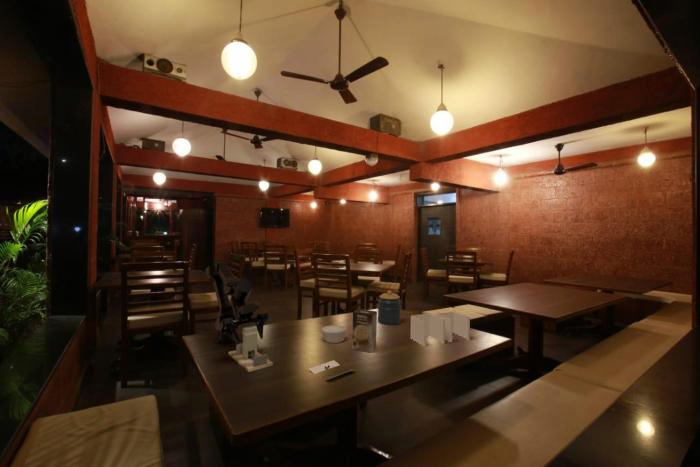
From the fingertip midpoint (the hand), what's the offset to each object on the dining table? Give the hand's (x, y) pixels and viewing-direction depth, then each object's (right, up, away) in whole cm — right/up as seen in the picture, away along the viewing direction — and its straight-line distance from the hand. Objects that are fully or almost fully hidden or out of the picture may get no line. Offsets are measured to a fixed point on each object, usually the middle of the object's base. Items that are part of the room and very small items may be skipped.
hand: (250, 341), depth 121 cm
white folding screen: (+80, -9, +26) cm, 85 cm away
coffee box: (+44, -8, +13) cm, 47 cm away
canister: (+60, -8, +55) cm, 82 cm away
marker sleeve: (-1, -6, +1) cm, 6 cm away
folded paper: (+32, -8, -9) cm, 34 cm away
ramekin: (+31, -8, +24) cm, 40 cm away
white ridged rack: (0, -7, 0) cm, 7 cm away
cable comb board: (0, -7, 0) cm, 7 cm away
